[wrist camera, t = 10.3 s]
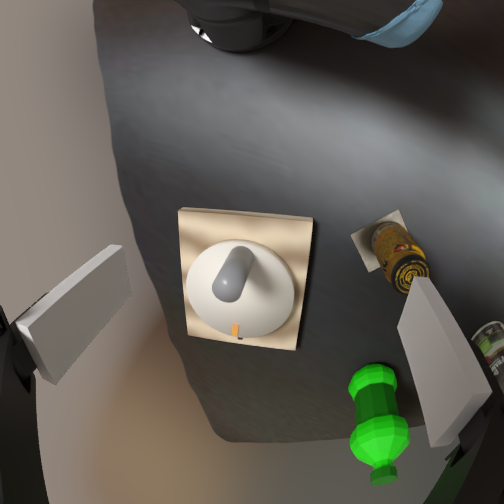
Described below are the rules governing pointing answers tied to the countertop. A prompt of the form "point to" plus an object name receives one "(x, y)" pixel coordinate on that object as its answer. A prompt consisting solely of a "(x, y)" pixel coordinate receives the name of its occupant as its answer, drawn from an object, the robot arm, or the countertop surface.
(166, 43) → the countertop surface
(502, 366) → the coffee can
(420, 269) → the condiment
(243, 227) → the dial panel
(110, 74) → the countertop surface
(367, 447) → the plastic bottle
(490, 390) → the robot arm
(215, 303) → the dial
